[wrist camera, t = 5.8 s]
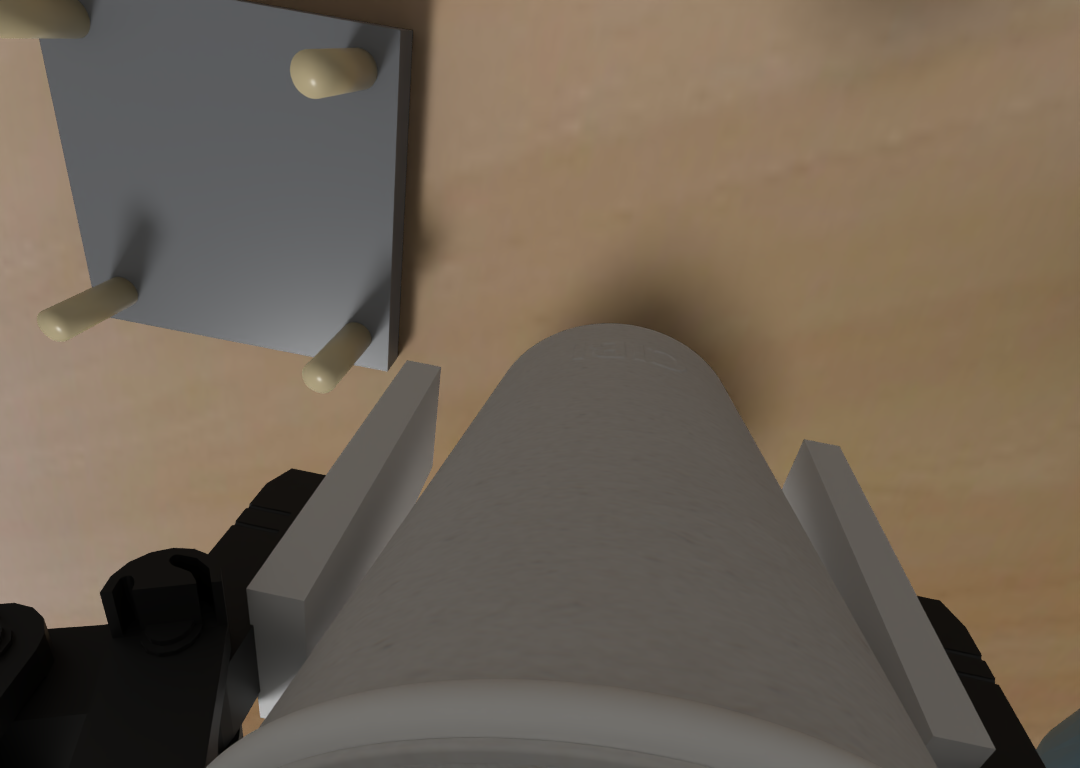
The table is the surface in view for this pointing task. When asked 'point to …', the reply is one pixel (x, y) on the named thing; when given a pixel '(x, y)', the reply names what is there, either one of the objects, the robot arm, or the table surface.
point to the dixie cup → (594, 596)
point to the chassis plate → (232, 171)
